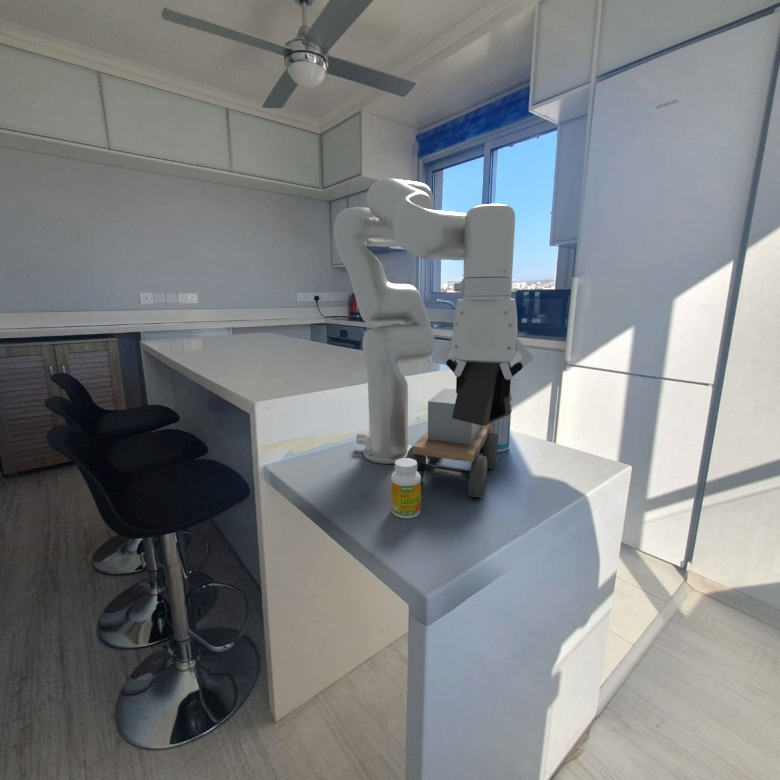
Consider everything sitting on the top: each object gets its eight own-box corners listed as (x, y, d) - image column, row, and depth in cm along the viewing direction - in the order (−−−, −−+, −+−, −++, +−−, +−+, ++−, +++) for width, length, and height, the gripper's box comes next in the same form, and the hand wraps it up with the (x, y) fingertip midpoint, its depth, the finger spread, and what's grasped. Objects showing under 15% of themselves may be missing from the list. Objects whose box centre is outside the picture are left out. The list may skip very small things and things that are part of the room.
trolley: (478, 505, 77) (482, 415, 73) (404, 491, 83) (403, 407, 79) (497, 461, 97) (500, 388, 93) (435, 452, 103) (436, 383, 99)
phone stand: (482, 426, 65) (485, 351, 62) (451, 418, 69) (453, 347, 66) (511, 414, 71) (515, 345, 69) (481, 407, 76) (483, 342, 73)
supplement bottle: (399, 522, 72) (398, 470, 70) (387, 507, 77) (386, 459, 75) (426, 515, 74) (426, 465, 72) (412, 501, 79) (412, 454, 77)
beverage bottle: (493, 455, 100) (497, 375, 96) (469, 445, 107) (471, 370, 102) (516, 448, 105) (521, 371, 100) (492, 439, 112) (495, 366, 107)
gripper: (427, 291, 65) (427, 401, 69) (544, 289, 59) (535, 410, 63) (439, 290, 72) (438, 390, 76) (545, 289, 66) (537, 398, 70)
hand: (482, 398), depth 70 cm, fingers closed on phone stand, 6 cm apart
